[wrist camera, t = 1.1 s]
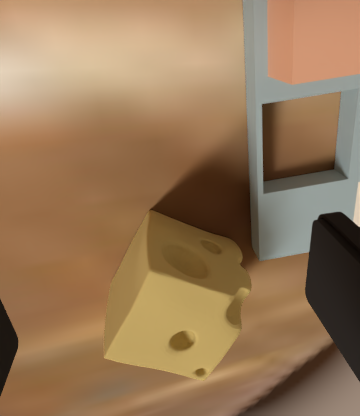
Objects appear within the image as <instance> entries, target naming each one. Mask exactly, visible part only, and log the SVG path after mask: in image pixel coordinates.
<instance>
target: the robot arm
mask: <svg viewBox="0 0 360 416" xmlns="http://www.w3.org/2000/svg"><path fill="white" fill-rule="evenodd" d="M305 293H306V298H307V300H308V302H309V304H310V305H311V307H312V308H313V310H314V312H315V313H316V315H317V316H318V318H319V319H320V321H321V322H322V324H323V326H324V327H325V329H326V330H327V332H328V333H329V335H330V336H331V338H332V340H333V341H334V343H335V344H336V346H337V347H338V349H339V350H340V352H341V353H342V355H343V357H344V358H345V360H346V361H347V363H348V364H349V366H350V367H351V369H352V371H353V372H354V374H355V375H356V377H357V378H358V380H359V381H360V227H359V226H358V225H356V224H355V223H354V222H353V221H352V220H351V219H350V218H348V217H347V216H346V215H345V214H344V213H342V212H332V213H325V214H320V215H319V217H318V219H317V220H314V221H313V224H312V232H311V241H310V250H309V260H308V269H307V278H306V287H305ZM17 349H18V337H17V334H16V332H15V330H14V328H13V326H12V323H11V321H10V319H9V317H8V315H7V313H6V310H5V308H4V306H3V304H2V302H1V300H0V396H1V393H2V390H3V388H4V385H5V382H6V379H7V377H8V374H9V371H10V368H11V366H12V363H13V360H14V357H15V355H16V352H17Z"/></svg>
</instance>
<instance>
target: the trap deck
mask: <svg viewBox="0 0 360 416" xmlns="http://www.w3.org/2000/svg"><path fill="white" fill-rule="evenodd" d="M243 19H244V46H245V73H246V100H247V127H248V154H249V181H250V208H251V235H252V248H253V250H254V252H255V254H256V255H257V257H258V259H259V261H263V260H268V259H273V258H279V257H284V256H290V255H295V254H301V253H306V252H309V250H310V241H311V232H312V224H313V221H314V220H317V219H318V217H319V215H320V214H325V213H332V212H342V213H344V214H345V215H346V216H347V217H348V218H350V219H351V220H352V221H353V222H354V223H355V224H356V225H358V226H359V227H360V74H356V75H350V76H344V77H337V78H331V79H325V80H319V81H313V82H306V83H300V84H294V85H291V84H288V83H285V82H282V81H279V80H276V79H274V78H271V77H268V32H267V0H243ZM340 91H341V100H340V111H339V122H338V133H337V144H336V155H335V165H334V169H333V170H327V171H322V172H316V173H310V174H304V175H299V176H293V177H287V178H281V179H275V180H270V181H264V182H263V142H262V104H266V103H272V102H278V101H284V100H291V99H297V98H303V97H309V96H315V95H321V94H327V93H334V92H340Z"/></svg>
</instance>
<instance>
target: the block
mask: <svg viewBox="0 0 360 416" xmlns="http://www.w3.org/2000/svg"><path fill="white" fill-rule="evenodd" d="M267 32H268V77H271V78H274V79H276V80H279V81H282V82H285V83H288V84H291V85H294V84H300V83H306V82H313V81H319V80H325V79H331V78H337V77H344V76H350V75H356V74H360V0H267Z"/></svg>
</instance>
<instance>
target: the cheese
mask: <svg viewBox="0 0 360 416" xmlns="http://www.w3.org/2000/svg"><path fill="white" fill-rule="evenodd" d="M242 259H243V257H242V252H241V250H240V248H239V246H238V245H237V244H236V243H235V242H234V241H233V240H231V239H229V238H226V237H223V236H219V235H215V234H212V233H209V232H206V231H203V230H201V229H198V228H196V227H193V226H190V225H188V224H185V223H183V222H180V221H178V220H175V219H173V218H170V217H168V216H165V215H163V214H161V213H158V212H155V211H153V210H149V211H148V213H147V215H146V216H145V218H144V220H143V222H142V224H141V226H140V227H139V229H138V231H137V233H136V235H135V236H134V238H133V240H132V242H131V244H130V246H129V248H128V250H127V252H126V254H125V256H124V258H123V260H122V262H121V264H120V266H119V268H118V270H117V272H116V274H115V276H114V278H113V280H112V282H111V285H110V291H109V296H108V302H107V310H106V319H105V330H104V358H106V359H109V360H113V361H116V362H121V363H125V364H131V365H136V366H142V367H148V368H153V369H158V370H163V371H167V372H171V373H175V374H179V375H183V376H187V377H190V378H194V379H198V380H202V381H204V380H206V378H207V377H208V376H209V375H210V373H211V372H212V371H213V370H214V368H215V367H216V366H217V365H218V363H219V362H220V361H221V359H222V358H223V357H224V355H225V354H226V353H227V351H228V350H229V348H230V347H231V345H232V344H233V343H234V341H235V340H236V338H237V337H238V335H239V334H240V331H241V329H242V327H241V317H240V311H241V306H242V303H243V301H244V299H245V298H246V297H247V295H248V294H249V293H250V291H251V286H252V284H251V279H250V276H249V274H248V272H247V271H246V270H245V269H244V268H243V267H242V266H240V263H241V262H242Z"/></svg>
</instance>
